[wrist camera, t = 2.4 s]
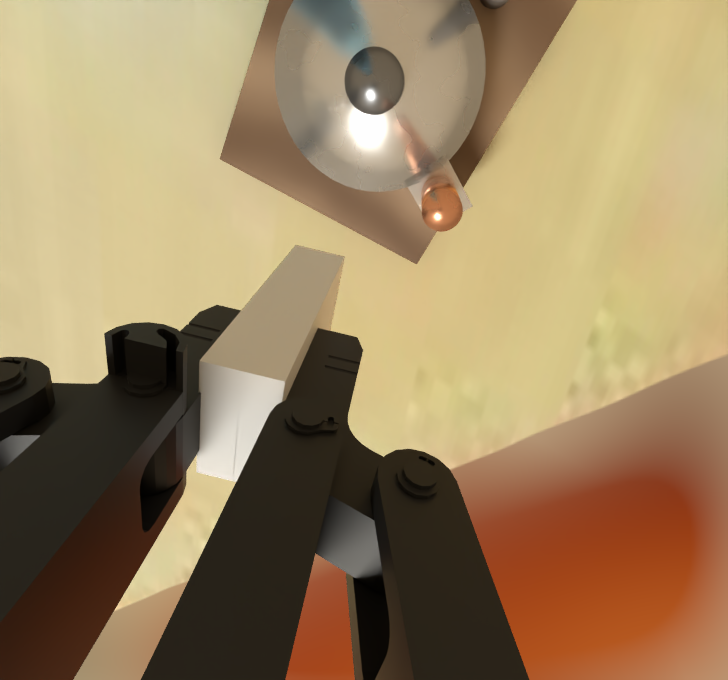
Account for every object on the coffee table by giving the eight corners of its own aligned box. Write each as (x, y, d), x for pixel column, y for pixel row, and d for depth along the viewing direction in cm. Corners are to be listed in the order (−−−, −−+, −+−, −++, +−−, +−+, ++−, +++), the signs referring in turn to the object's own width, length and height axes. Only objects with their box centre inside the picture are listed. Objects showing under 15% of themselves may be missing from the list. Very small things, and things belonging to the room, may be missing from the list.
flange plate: (243, 50, 22) (195, 38, 18) (417, -105, 19) (416, -171, 14) (375, 255, 27) (366, 291, 22) (535, 160, 23) (566, 178, 19)
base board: (416, 256, 29) (416, 285, 24) (229, 155, 27) (193, 168, 23) (574, -6, 22) (613, -31, 17) (333, -167, 20) (309, -240, 15)
